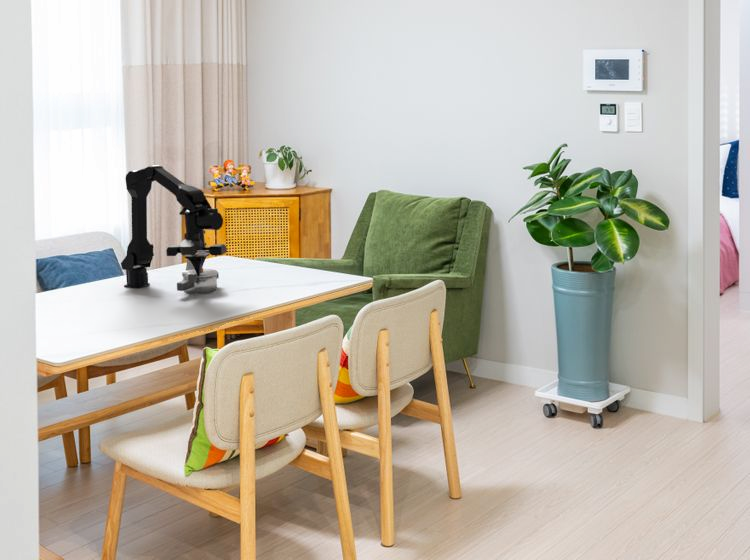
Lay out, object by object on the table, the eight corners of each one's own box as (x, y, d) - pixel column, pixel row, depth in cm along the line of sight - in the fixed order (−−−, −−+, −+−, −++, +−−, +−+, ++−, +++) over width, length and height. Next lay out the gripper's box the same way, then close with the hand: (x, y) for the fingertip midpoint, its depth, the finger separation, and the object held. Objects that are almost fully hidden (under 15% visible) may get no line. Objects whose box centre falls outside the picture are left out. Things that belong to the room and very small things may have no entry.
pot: (200, 284, 329) (199, 270, 328) (227, 287, 325) (227, 272, 324) (165, 296, 311) (165, 281, 310) (194, 299, 306) (194, 283, 305)
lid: (186, 271, 324) (186, 264, 324) (220, 271, 324) (220, 264, 323) (173, 282, 307) (173, 274, 306) (209, 282, 306) (209, 274, 306)
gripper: (157, 233, 300) (161, 281, 303) (213, 232, 297) (217, 281, 300) (171, 227, 311) (175, 274, 314) (225, 226, 307) (229, 273, 310)
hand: (198, 276), depth 309 cm, fingers closed
